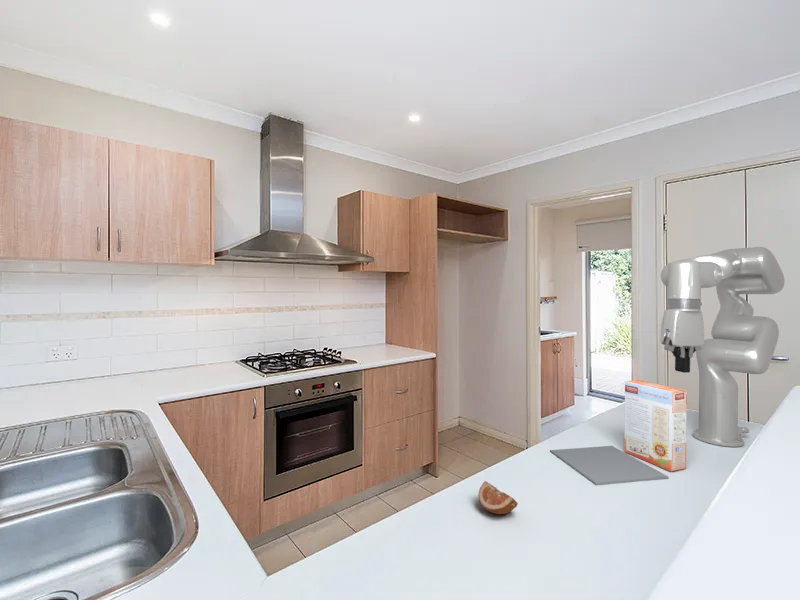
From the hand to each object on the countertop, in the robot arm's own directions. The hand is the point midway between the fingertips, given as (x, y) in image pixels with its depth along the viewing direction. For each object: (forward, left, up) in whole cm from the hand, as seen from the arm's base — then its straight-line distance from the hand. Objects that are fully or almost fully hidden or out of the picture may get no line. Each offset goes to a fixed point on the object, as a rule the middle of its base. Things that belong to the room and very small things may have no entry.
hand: (682, 371), depth 109 cm
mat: (+24, 0, -24) cm, 34 cm away
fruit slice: (+62, +17, -25) cm, 68 cm away
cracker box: (+9, 0, -25) cm, 26 cm away
